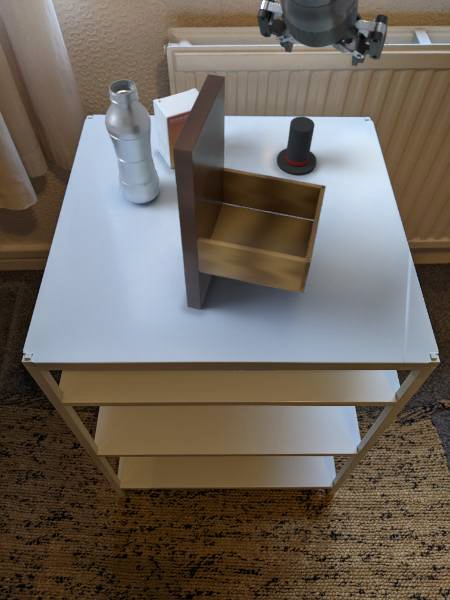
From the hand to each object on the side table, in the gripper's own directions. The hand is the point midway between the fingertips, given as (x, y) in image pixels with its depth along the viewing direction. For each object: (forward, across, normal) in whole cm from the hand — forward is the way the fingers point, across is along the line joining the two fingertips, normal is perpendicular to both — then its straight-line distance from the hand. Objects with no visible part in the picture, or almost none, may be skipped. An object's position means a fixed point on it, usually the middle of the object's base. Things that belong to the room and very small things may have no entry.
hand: (323, 50), depth 63 cm
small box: (+22, +22, +15) cm, 34 cm away
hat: (+25, +2, +11) cm, 28 cm away
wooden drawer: (+6, +2, +31) cm, 32 cm away
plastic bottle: (+14, +25, +24) cm, 37 cm away
